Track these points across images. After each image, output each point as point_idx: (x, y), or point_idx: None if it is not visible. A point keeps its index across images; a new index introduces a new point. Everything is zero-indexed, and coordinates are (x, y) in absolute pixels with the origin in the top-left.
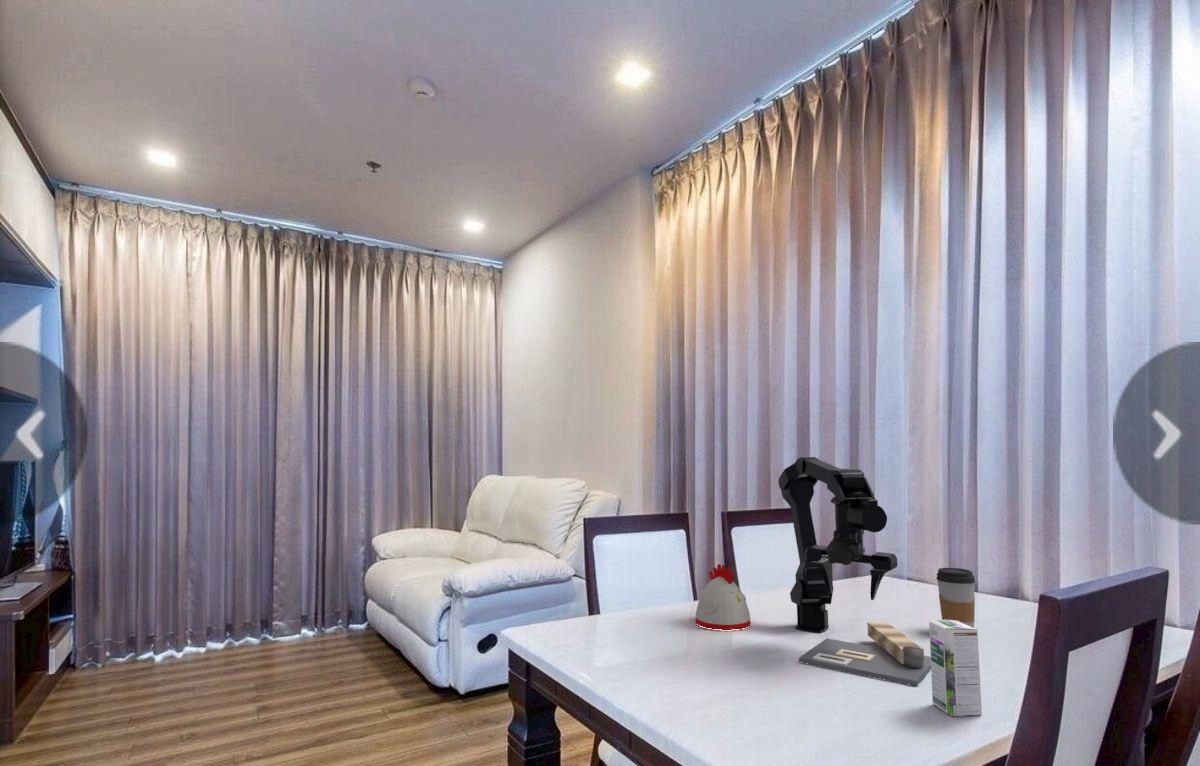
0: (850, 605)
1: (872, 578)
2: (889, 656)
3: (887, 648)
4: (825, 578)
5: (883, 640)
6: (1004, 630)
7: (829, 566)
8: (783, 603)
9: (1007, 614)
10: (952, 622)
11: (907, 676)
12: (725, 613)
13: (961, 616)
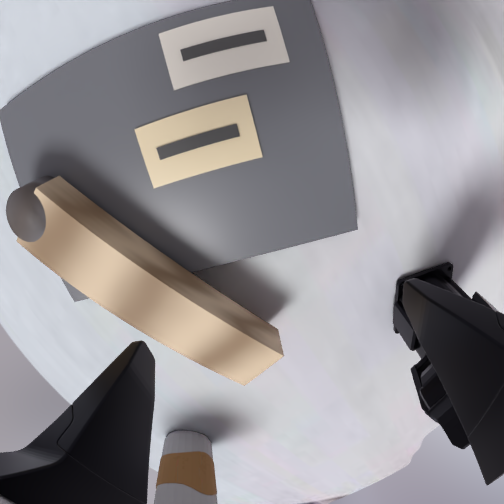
0: (391, 429)
1: (60, 447)
2: (129, 220)
3: (143, 245)
4: (487, 318)
5: (167, 272)
6: None
7: (498, 433)
8: None
9: None
10: None
11: (19, 117)
12: None
13: (165, 462)
